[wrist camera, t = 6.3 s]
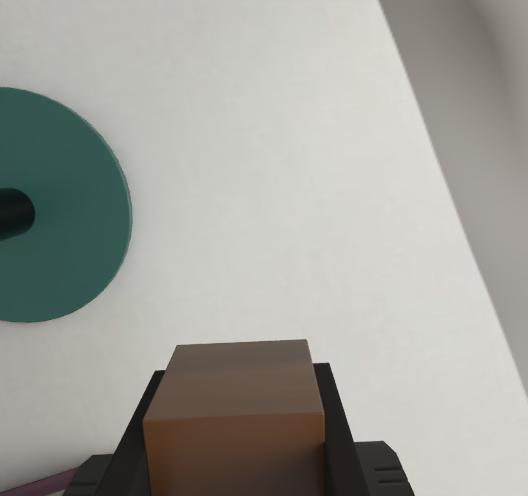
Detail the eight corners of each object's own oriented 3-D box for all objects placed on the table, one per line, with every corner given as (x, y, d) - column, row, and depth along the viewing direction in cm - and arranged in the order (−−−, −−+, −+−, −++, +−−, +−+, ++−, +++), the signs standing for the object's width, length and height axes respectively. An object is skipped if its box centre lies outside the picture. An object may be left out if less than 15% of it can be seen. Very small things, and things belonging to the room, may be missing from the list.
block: (176, 344, 15) (141, 420, 11) (307, 338, 15) (324, 413, 11) (187, 459, 16) (159, 572, 12) (310, 454, 16) (328, 566, 12)
